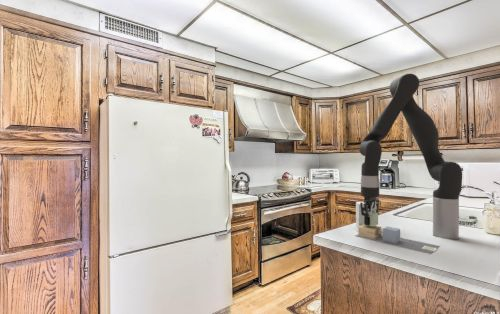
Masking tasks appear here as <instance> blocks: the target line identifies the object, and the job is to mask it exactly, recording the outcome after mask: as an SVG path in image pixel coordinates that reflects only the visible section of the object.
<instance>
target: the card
mask: <svg viewBox="0 0 500 314" xmlns="http://www.w3.org/2000/svg"><path fill="white" fill-rule="evenodd" d="M422 249H424V250H428V251H433V253H435V252H436V251H437V250H438V249H437V248H433V247H428V246H424V247H422ZM435 250H436V251H435Z"/></svg>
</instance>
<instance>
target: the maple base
mask: <svg viewBox="0 0 500 314" xmlns="http://www.w3.org/2000/svg"><path fill="white" fill-rule="evenodd" d="M358 234H359V236H363V237H367V238H371V239H376V238H378V237H380V236H381V234H382V226H378V225H376V226H368V225H361V226H359V229H358Z"/></svg>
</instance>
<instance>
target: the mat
mask: <svg viewBox="0 0 500 314" xmlns="http://www.w3.org/2000/svg"><path fill="white" fill-rule="evenodd" d="M354 237H356V238H362V239H365V240H369V241H374V242H378V243H382V244H386V245H391V246H393V247H398V248H404V249H408V250H412V251H415V252H419V253H424V254H428V255H432V254H433V253H434V252H437V250H438V249H439V248H440V247H441V245H436V244H432V243H427V242H423V241H417V240H414V239H413V240H412V239H408V238H404V237H400V241H399V242H397V243H392V242H387V241H383V233H381V236H380V237H378V238H376V239H371V238H367V237H363V236H359V233H358V234H356V235H354ZM424 246H428V247H433V248H437V250H435V251H434V252H433V251H428V250H424V249H422V247H424Z"/></svg>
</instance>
